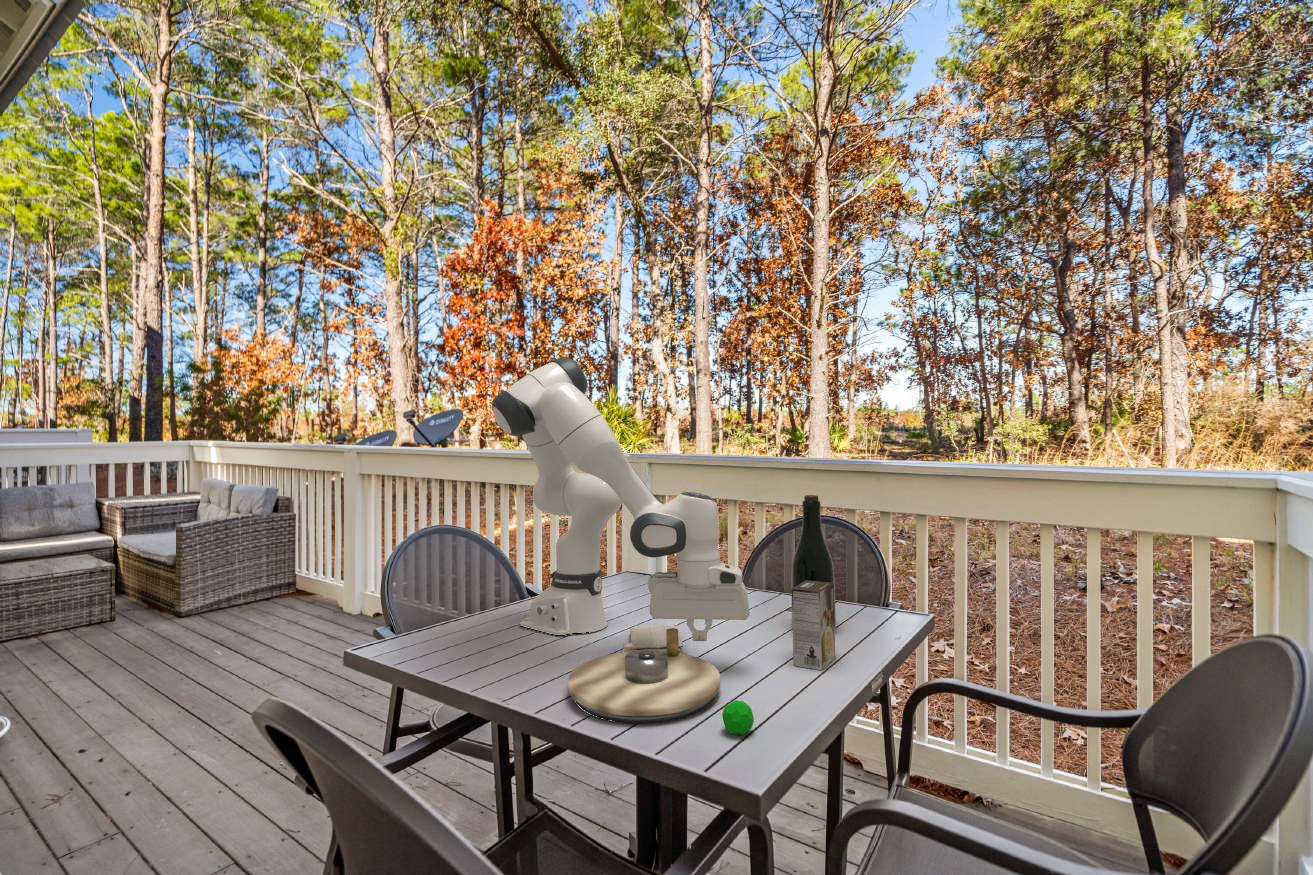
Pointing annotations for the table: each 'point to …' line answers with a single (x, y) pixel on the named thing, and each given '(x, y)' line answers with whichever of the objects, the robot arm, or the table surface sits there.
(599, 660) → the turntable
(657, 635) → the washcloth
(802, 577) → the wine bottle
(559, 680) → the table surface
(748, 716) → the polyhedron
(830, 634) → the coffee box
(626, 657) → the iron cover
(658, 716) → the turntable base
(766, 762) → the table surface
